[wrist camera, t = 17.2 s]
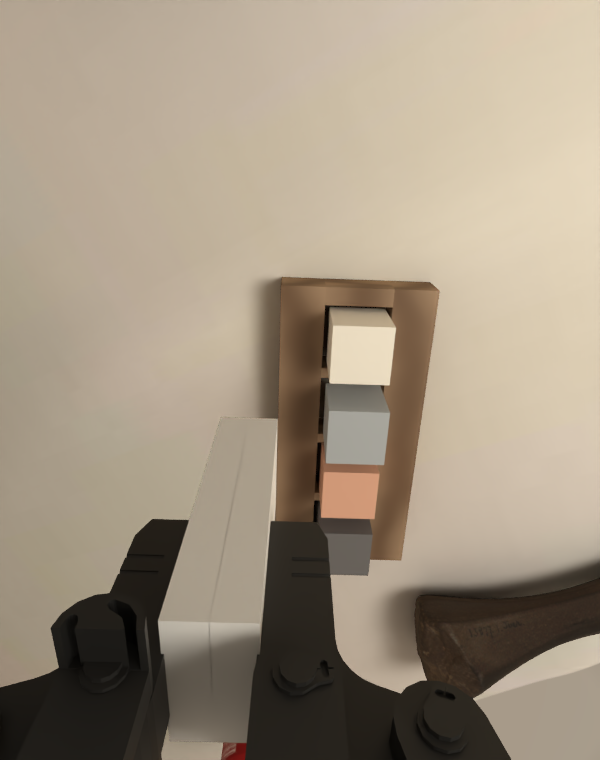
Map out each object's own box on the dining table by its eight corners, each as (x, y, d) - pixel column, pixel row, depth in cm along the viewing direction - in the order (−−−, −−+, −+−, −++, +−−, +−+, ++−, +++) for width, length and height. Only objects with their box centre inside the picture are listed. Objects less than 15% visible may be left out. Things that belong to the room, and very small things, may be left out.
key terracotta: (318, 482, 47) (320, 517, 42) (321, 440, 45) (323, 472, 40) (367, 484, 47) (374, 519, 42) (371, 442, 45) (379, 473, 41)
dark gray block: (315, 535, 49) (317, 574, 44) (317, 497, 47) (320, 533, 43) (361, 536, 49) (368, 575, 45) (365, 498, 47) (372, 534, 43)
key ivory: (326, 359, 42) (329, 383, 37) (329, 306, 40) (333, 325, 36) (379, 361, 42) (389, 385, 38) (385, 308, 40) (395, 327, 36)
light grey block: (323, 431, 43) (325, 463, 39) (325, 383, 42) (329, 410, 37) (375, 432, 43) (384, 465, 39) (380, 385, 42) (390, 412, 37)
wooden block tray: (276, 535, 52) (275, 556, 49) (282, 277, 41) (281, 285, 39) (395, 539, 52) (401, 560, 49) (430, 282, 42) (439, 291, 39)
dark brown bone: (403, 617, 59) (634, 535, 58) (442, 722, 52) (704, 631, 52) (394, 590, 51) (665, 494, 50) (440, 711, 44) (753, 602, 43)
